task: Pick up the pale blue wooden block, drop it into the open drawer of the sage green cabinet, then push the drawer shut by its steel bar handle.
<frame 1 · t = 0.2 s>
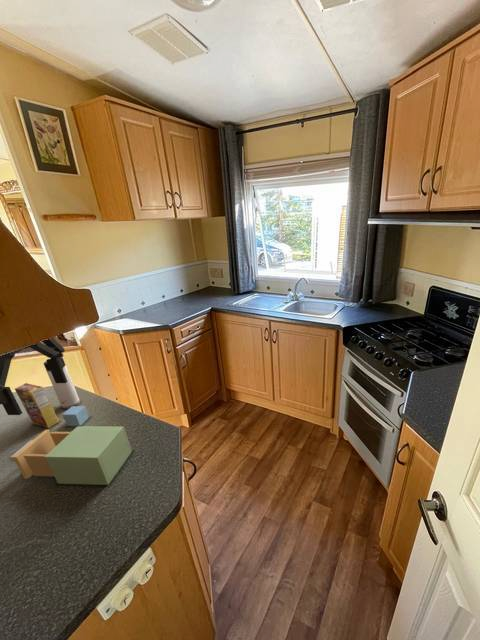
hand: (40, 397, 68), 27 cm above the countertop, tool pointing down, fingers open, 13 cm apart
drawer: (50, 453, 83), point 5 cm above the countertop, slide at 9.0 cm
block: (78, 421, 105), on the countertop
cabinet: (97, 466, 84), on the countertop
travel mug: (71, 405, 116), on the countertop
candy box: (45, 423, 105), on the countertop
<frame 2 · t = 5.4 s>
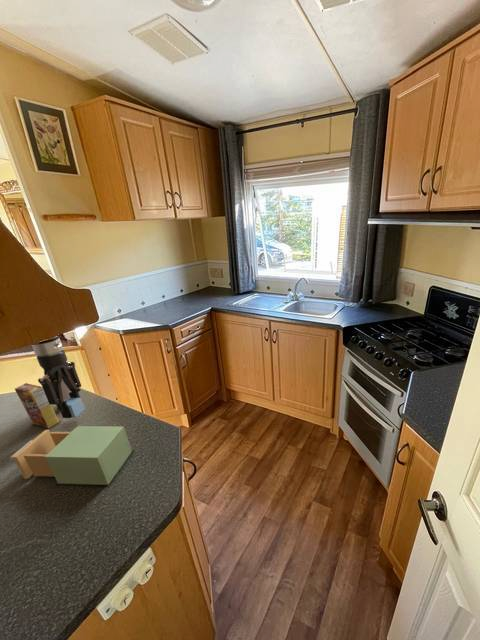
hand: (73, 412, 103), 4 cm above the countertop, tool pointing down, fingers closed on block, 5 cm apart
block: (73, 413, 103), point 4 cm above the countertop, touching gripper
everything else where it was.
when the fingers open (10 cm above the countertop, at t = 10.6 s): block drops 7 cm, resting on drawer.
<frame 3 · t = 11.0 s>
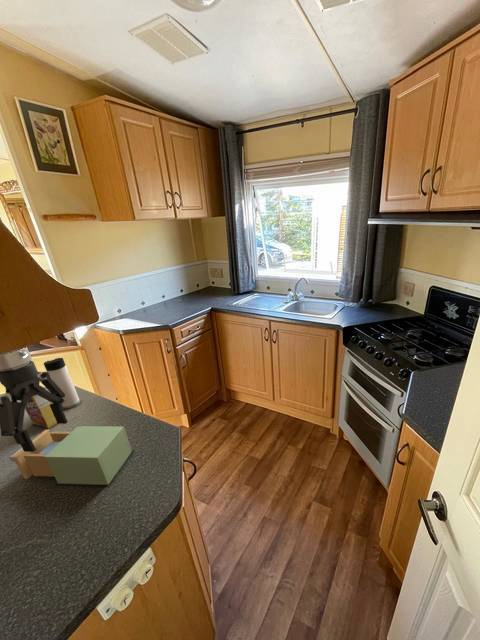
hand: (47, 435, 80), 11 cm above the countertop, tool pointing down, fingers open, 11 cm apart
drawer: (49, 453, 83), point 5 cm above the countertop, slide at 9.0 cm, touching block
block: (59, 460, 84), point 2 cm above the countertop, touching drawer
everything else where it was.
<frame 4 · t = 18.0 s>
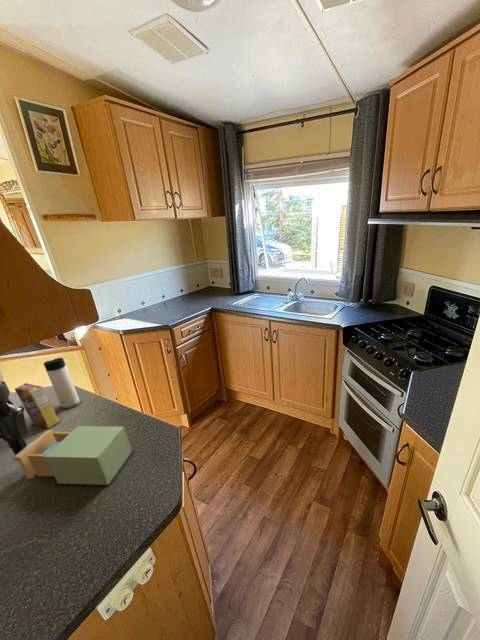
hand: (23, 456, 85), 4 cm above the countertop, tool pointing down, fingers closed
drawer: (53, 453, 83), point 5 cm above the countertop, slide at 8.0 cm, touching block, gripper
everything else where it was.
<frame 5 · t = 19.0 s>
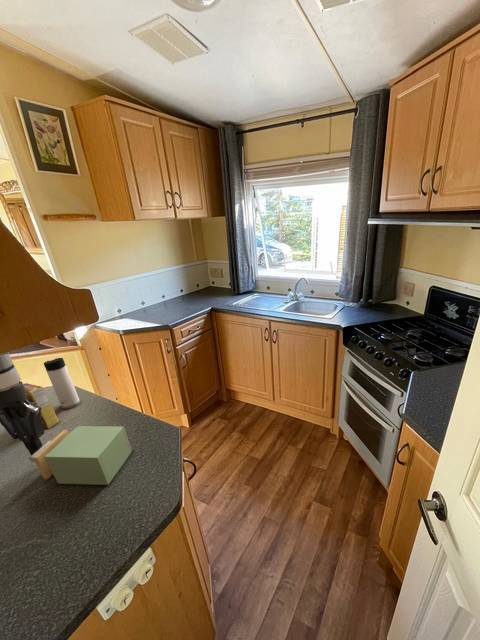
hand: (39, 456, 84), 4 cm above the countertop, tool pointing down, fingers closed
drawer: (69, 453, 83), point 5 cm above the countertop, slide at 3.1 cm, touching block, gripper
block: (78, 461, 84), point 2 cm above the countertop, touching drawer
everything else where it was.
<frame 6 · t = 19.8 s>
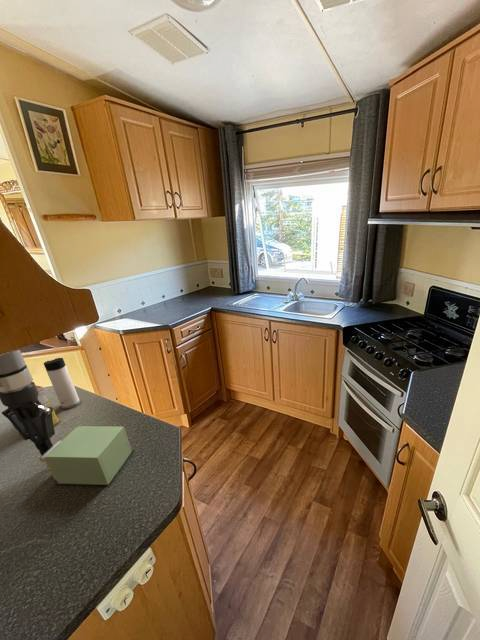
hand: (49, 456, 84), 3 cm above the countertop, tool pointing down, fingers closed
drawer: (79, 453, 82), point 5 cm above the countertop, slide at 0.0 cm, touching block, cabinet, gripper
block: (88, 461, 83), point 2 cm above the countertop, touching drawer
everything else where it was.
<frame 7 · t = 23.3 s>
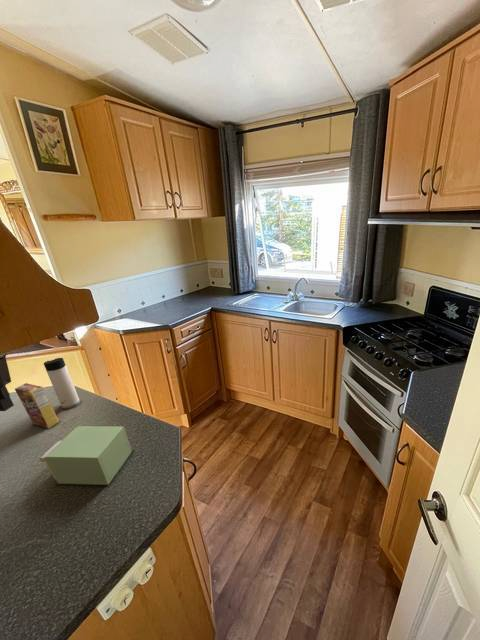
hand: (7, 408, 77), 20 cm above the countertop, tool pointing down, fingers closed
drawer: (79, 453, 82), point 5 cm above the countertop, slide at 0.0 cm, touching block, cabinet
everything else where it was.
at the end: block inside the target area in the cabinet (1.9 cm from its centre), point 2.0 cm above the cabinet's base; drawer slide at 0.0 cm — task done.
